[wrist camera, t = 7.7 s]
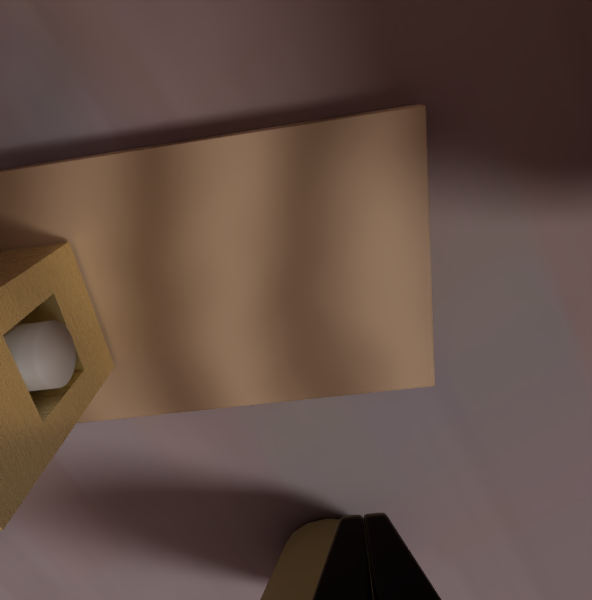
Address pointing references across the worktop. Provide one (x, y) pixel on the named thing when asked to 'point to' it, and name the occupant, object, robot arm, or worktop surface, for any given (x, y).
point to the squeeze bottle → (302, 562)
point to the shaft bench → (239, 264)
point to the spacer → (50, 402)
